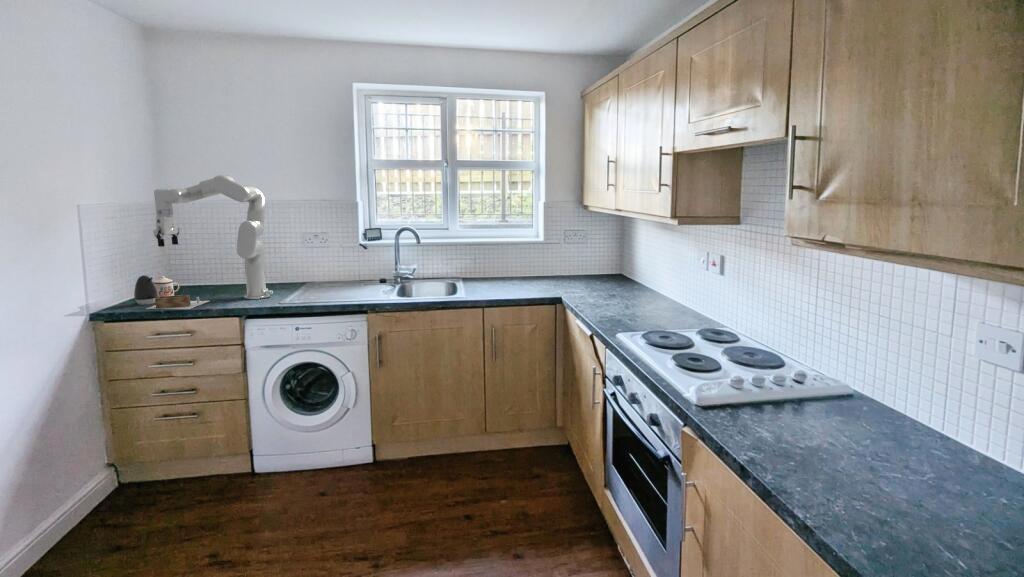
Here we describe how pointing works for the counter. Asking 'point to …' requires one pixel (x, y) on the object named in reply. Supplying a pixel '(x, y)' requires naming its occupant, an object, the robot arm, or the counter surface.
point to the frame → (172, 301)
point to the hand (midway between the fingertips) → (168, 245)
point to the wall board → (193, 304)
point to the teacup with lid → (165, 286)
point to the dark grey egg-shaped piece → (145, 291)
